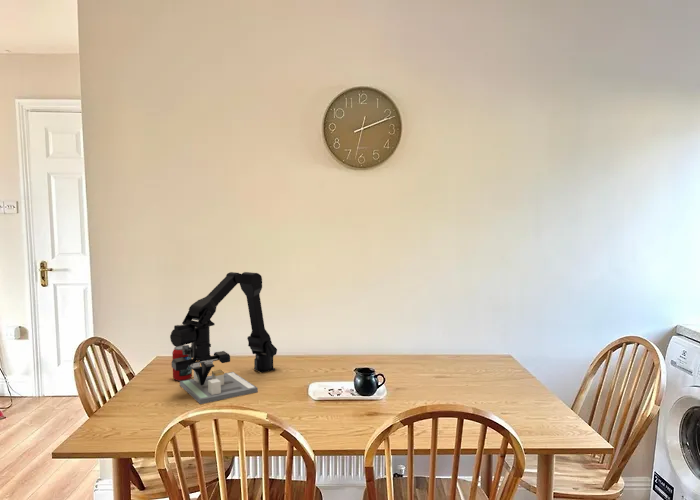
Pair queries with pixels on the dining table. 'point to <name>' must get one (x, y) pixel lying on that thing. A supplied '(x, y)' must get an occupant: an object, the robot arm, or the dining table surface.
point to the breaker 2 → (214, 386)
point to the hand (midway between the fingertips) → (201, 385)
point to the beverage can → (181, 374)
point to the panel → (230, 389)
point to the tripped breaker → (218, 375)
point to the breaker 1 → (196, 378)
